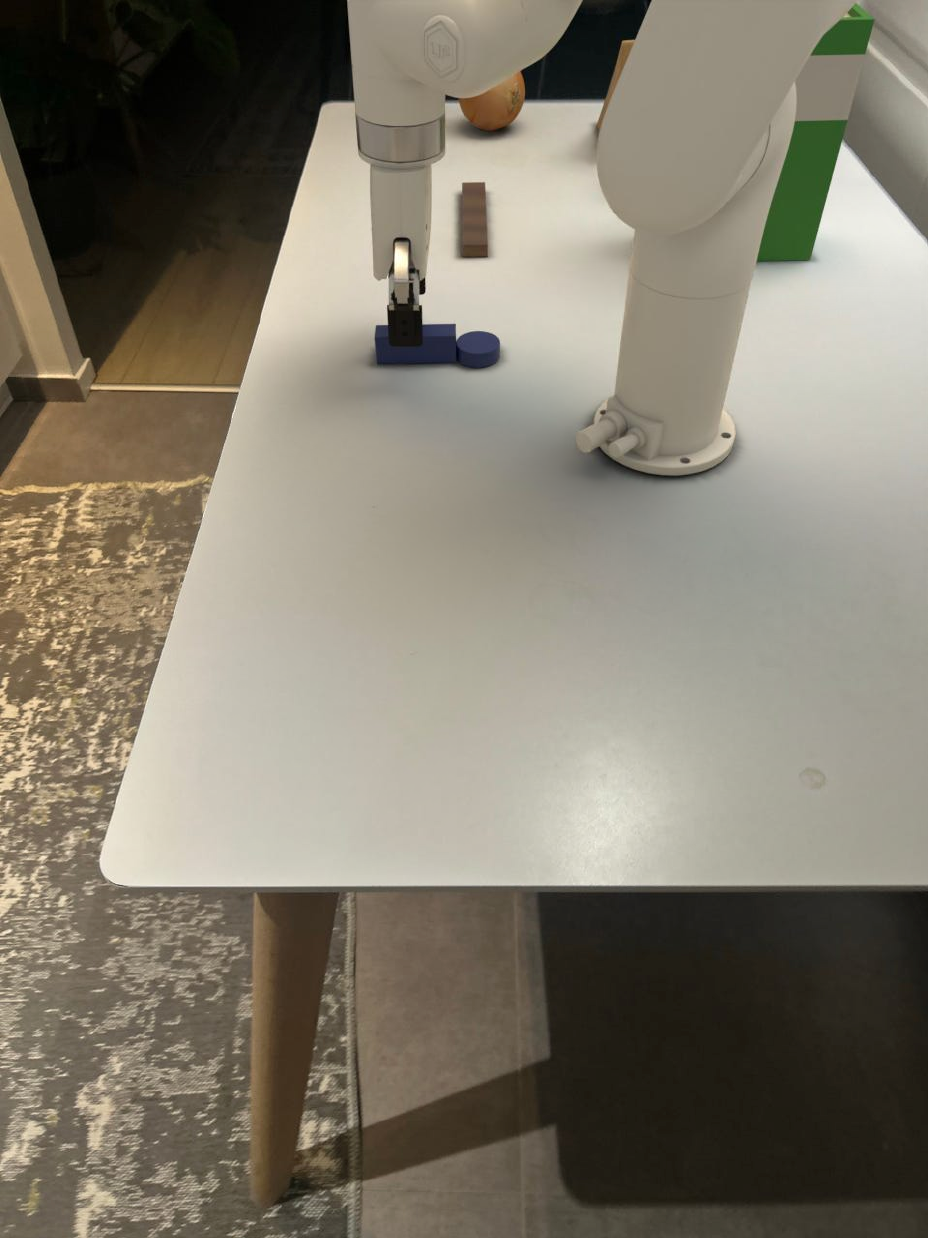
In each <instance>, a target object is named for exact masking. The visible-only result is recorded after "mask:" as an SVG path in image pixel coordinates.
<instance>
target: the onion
mask: <svg viewBox="0 0 928 1238" xmlns="http://www.w3.org/2000/svg"><path fill="white" fill-rule="evenodd" d="M525 96H526V87H525V82H524V78H523V74H522V70H521V71H519V72H517V73H516V74H514V75H512V76H511V77H510V78H508V79H507V80H505V81H503V82H502V83H500V84H498V85H497V86H495V87H493V88H492V89H490V90H488V91H487V92H485V93H483V94H480V95H478V96H475V97H471V98H458V103H459V104H458V105H459V107H460V110H461V113H462V114H463V116H464V117H465V118H466V120H468V121H469V122H470V124H472V125H473V126H474V127H475V128H478V129H481V130H484V131H490V132H492V131H496V130H498V129H499V130H500V129H501V128H503V127H506V126H508V125H510V124H512V123H513V122H514V121H515V120H516V119H517V118H518V116H519V114H520V113H521V112H522V108H523V107H524V104H525V103H524V102H525Z"/></svg>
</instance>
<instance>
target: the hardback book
mask: <svg viewBox="0 0 928 1238" xmlns="http://www.w3.org/2000/svg"><path fill="white" fill-rule="evenodd" d="M875 20H876V19H875V18H874V17H873V16H872V15H871V14H870V13H869V12H867V11H866V10H865V9H864V8H862V7H861V6H860V5H859V4H858V2H856V3H855V4H854V6H853V7H852V8H851V9H850V10H849V11H848V13H847V14H846V15H845V16H844V17H843V18H842V19H841V20H839V21H838V22H837V23H836V24H835V25H834V26H833V27H832V28H831V29H830V30H828V31H827V32H826V33H825V34H824V35H823V36H822V38H821V39H820V41H819V42H818V44H817V45H816V47H815V48H814V50H813V51H812V53H811V55H810V56H809V58H808V60H807V61H806V63H805V65H804V66H803V68H802V70H801V72H800V73H799V75H798V77H797V78H796V80H795V85H796V98H797V103H796V116H795V122H794V128H793V132H792V136H791V140H790V144H789V148H788V151H787V154H786V158H785V161H784V164H783V167H782V170H781V173H780V176H779V180H778V183H777V186H776V189H775V192H774V196H773V199H772V202H771V206H770V209H769V212H768V216H767V220H766V224H765V227H764V231H763V235H762V239H761V243H760V248H759V252H758V257H757V261H756V262H778V261H779V262H780V261H781V262H782V261H810V260H811V258H812V256H813V251H814V248H815V243H816V239H817V236H818V232H819V229H820V225H821V222H822V217H823V214H824V210H825V207H826V202H827V199H828V196H829V191H830V187H831V184H832V180H833V177H834V172H835V169H836V167H837V166H836V165H837V163H838V162H837V161H838V157H839V154H840V150H841V147H842V143H843V139H844V135H845V131H846V129H847V124H848V120H849V118H850V117H849V116H850V113H851V108H852V106H853V102H854V99H855V94H856V92H857V87H858V83H859V79H860V76H861V73H862V68H863V65H864V61H865V57H866V54H867V49H868V45H869V42H870V38H871V35H872V31H873V27H874V23H875Z"/></svg>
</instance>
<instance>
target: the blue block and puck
mask: <svg viewBox="0 0 928 1238" xmlns="http://www.w3.org/2000/svg"><path fill="white" fill-rule="evenodd" d="M374 346H375V347H374V348H375V355H376V357H375V359H376V364H377V365H383V364H384V365H387V364H388V365H389V364H392V365H393V364H394V365H395V364H397V365H398V364H448V363H449V364H450V363H451V364H452V363H453V364H454V363H457V361H458V363H460V364H461V365H463V366H465V367H468V368H475V369H478V368H487V367H491V366H493V365H494V364H496V363H497V362H498V361H499V360H500V357H501V341H500V338H499V337H498V336H497V335H496V334H494V333H492V332H490V331H485V330H474V331H468V332H465V333H463V334H461V335H460V336H458V337H457V324H456V323H425V324H424V323H423V344H422V346H420V347H393V346H390V344H389V335H388V324H376V325H375V331H374Z"/></svg>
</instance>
